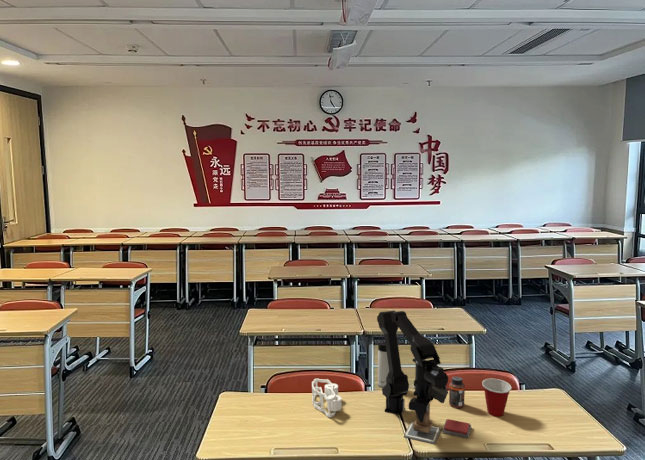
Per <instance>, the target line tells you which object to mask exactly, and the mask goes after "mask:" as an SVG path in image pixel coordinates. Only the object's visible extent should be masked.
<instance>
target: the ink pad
mask: <svg viewBox="0 0 645 460" xmlns="http://www.w3.org/2000/svg"><path fill="white" fill-rule="evenodd" d="M471 430H472V424H471V423H468V422H466V421H465V422H464V421H459V420H454V419H449V418H447V419H446V420H445V422H444V424H443V427H442V429H441V431H442V434H446V435H449V436H451V435H452V436H456V437H460V438H464V439H469V437H470V434H471Z"/></svg>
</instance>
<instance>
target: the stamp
mask: <svg viewBox="0 0 645 460" xmlns="http://www.w3.org/2000/svg"><path fill="white" fill-rule="evenodd" d="M429 405H430V407H431V402H429ZM430 407H429V409H428V410H427V412H425V415H424V420H423V422H420V421H419V419H418V417H417V415H416V414H415V421H413V422H414V424H413V430H414V431H418V432H423V433H428V434H429V431H430V429H431V427H432V426H433V420H432V419H431V418H430V417H431V416H430V415H431V412H430V411H431V408H430Z"/></svg>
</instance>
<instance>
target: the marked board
mask: <svg viewBox="0 0 645 460" xmlns="http://www.w3.org/2000/svg"><path fill="white" fill-rule="evenodd" d="M414 422H415V421H410V423H409V425H408V426H407V429H406V431H405V433H404V435H403V438H406V439H411V440H415V441H420V442H424V443H428V444H433V445H436V443H437V440H438V437H439V436H440V433H441V431H442V427H439V426H434V425H432V427H431V429H430V431H429V434H428V433H423V432H418V431H414V430H413V424H414Z"/></svg>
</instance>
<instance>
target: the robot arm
mask: <svg viewBox="0 0 645 460" xmlns="http://www.w3.org/2000/svg"><path fill="white" fill-rule="evenodd" d="M376 320H377V321H376V322H377V324H378V328H379V329H380V331H381V332H382V333H383V335H384V342H385V344H386V352H387V359H388V366H389V373H388V375H387V377H386V385H385V386H384V387H383V388H381V392H382V395H383V396H384V397H385V409H384V412H386V413H390V414H396V415H401V414H402V413H403V411H405V400H406V399H405V398H404V396H408V392H409V388H410V384H409V377H408V374H405V373H404V370H402V364H401V363H402V362H401V356H400V350H399V343H398V342H399V340H398V335H397V332H398V330H400V331H401V333H402V335H403V336H404V337H405V338H406V340H407V341H408V342H409V344H410V352H411V353H412V356H413V357H414V358H412V362H413V363H415V366H414V367H415V379H414V380H413V385H414V391H413V396H416V397H413V398H411V399H410V400H409V402H408V409H409V410H410V411H414V412H415V416H416V415H417V417H418V419H419V421H420V422H423V420H424V415H425V412H427V410H428V409H429V407H431V404H430V405H429V403H431V402H432V401H433V400H436V401H438V402H439V403H440V404H444V403H445V401H446V399H447V396H448V395H449V390H448V388H447V385H448V384H449V383H448V382H449V376H448V374H447V373H446V372H445V371H444V368H443V367H441V366H439V365H440V364H442V363H441V360H440V359H441V358H440V355H439V354H438V351H437V349H436V346H435V345H434V343H433V342H432V341H431V340H430V339H428V338H427V337H425V336H423V335H422V334H420V332H419V331H418V329H417V328H416V326H415V325H414V324H413V323H412V322H411V320H410V319H409V318H408V316H407V312H406V311H404V310H399V311H396V310H395V309H393V310H386V311H379V313H378V315H377V316H376Z"/></svg>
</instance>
